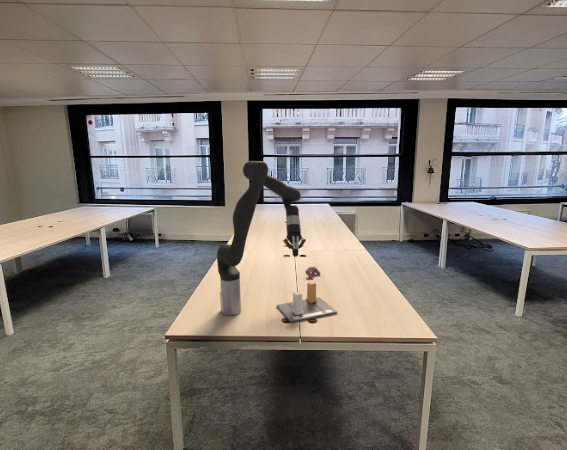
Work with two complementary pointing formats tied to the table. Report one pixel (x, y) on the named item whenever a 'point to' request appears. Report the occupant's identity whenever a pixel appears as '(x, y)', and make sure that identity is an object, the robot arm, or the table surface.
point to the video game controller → (313, 270)
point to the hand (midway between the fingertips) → (295, 256)
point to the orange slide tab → (311, 292)
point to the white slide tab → (297, 303)
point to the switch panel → (307, 310)
